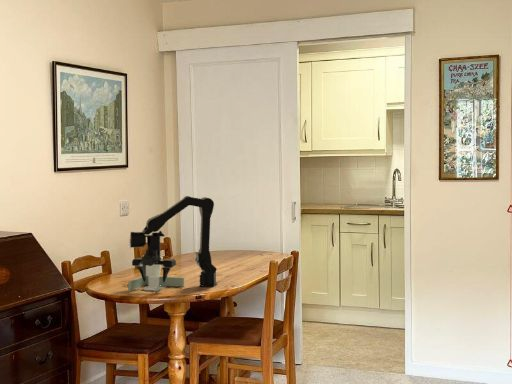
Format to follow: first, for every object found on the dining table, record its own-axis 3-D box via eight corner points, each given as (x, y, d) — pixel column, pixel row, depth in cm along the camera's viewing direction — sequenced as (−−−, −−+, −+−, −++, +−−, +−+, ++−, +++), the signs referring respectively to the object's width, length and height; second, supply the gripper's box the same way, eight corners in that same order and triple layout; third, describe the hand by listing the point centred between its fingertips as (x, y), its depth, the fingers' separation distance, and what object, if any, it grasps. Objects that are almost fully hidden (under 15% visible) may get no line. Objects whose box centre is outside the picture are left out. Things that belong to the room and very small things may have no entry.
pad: (167, 286, 302) (167, 285, 302) (157, 291, 292) (157, 290, 292) (150, 285, 305) (150, 285, 305) (140, 290, 294) (140, 289, 294)
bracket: (149, 287, 299) (149, 276, 299) (160, 287, 298) (159, 276, 298) (143, 289, 294) (143, 278, 293) (154, 290, 292) (154, 279, 292)
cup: (147, 283, 309) (147, 260, 309) (138, 280, 317) (137, 257, 317) (167, 281, 315) (166, 258, 315) (157, 278, 323) (156, 255, 323)
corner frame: (184, 286, 303) (184, 277, 303) (170, 293, 288) (170, 284, 287) (143, 284, 308) (143, 275, 308) (128, 291, 293) (128, 281, 292)
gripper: (126, 248, 292) (126, 284, 293) (166, 249, 287) (166, 286, 288) (137, 245, 303) (137, 279, 303) (176, 246, 298) (176, 281, 299)
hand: (154, 281), depth 298 cm, fingers open, 9 cm apart
